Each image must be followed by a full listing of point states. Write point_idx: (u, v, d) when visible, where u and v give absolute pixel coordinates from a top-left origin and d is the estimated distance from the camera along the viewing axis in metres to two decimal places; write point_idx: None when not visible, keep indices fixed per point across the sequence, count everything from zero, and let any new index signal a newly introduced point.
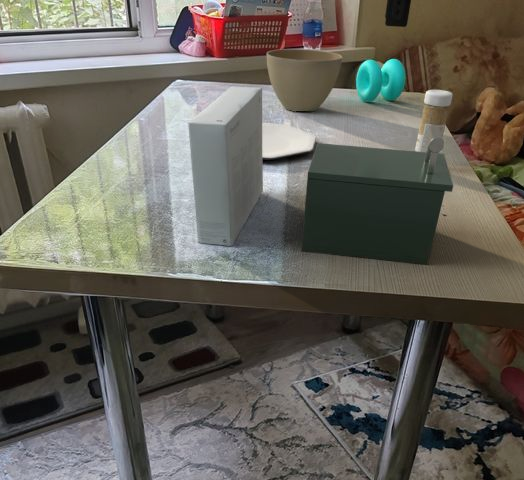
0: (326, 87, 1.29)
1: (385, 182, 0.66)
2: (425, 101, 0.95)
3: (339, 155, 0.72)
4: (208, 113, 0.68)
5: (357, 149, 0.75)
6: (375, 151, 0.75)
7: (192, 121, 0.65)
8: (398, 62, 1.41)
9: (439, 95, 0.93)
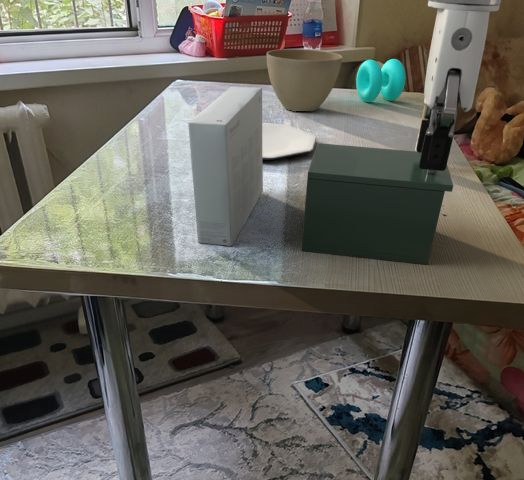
0: (326, 87, 1.29)
1: (385, 182, 0.66)
2: (425, 101, 0.95)
3: (339, 155, 0.72)
4: (208, 113, 0.68)
5: (357, 149, 0.75)
6: (375, 151, 0.75)
7: (192, 121, 0.65)
8: (398, 62, 1.41)
9: None
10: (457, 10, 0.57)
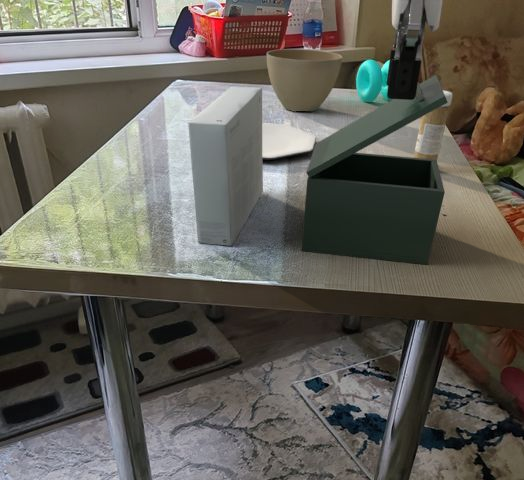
0: (326, 87, 1.29)
1: (379, 136, 0.63)
2: None
3: (335, 141, 0.71)
4: (208, 113, 0.68)
5: (351, 125, 0.73)
6: (368, 116, 0.72)
7: (192, 121, 0.65)
8: None
9: None
10: None
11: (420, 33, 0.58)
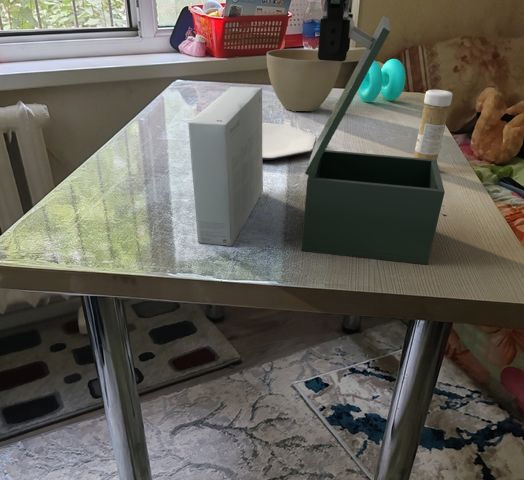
0: (326, 87, 1.29)
1: (347, 101, 0.61)
2: (425, 101, 0.95)
3: (323, 131, 0.71)
4: (208, 113, 0.68)
5: (334, 109, 0.72)
6: (343, 91, 0.71)
7: (192, 121, 0.65)
8: (398, 62, 1.41)
9: (439, 95, 0.93)
10: None
11: None
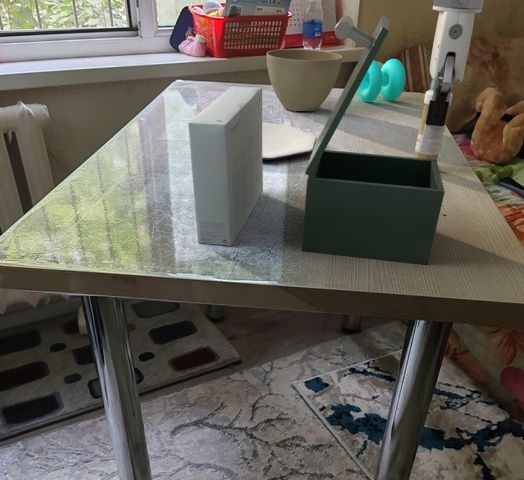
0: (326, 87, 1.29)
1: (347, 101, 0.61)
2: (425, 101, 0.95)
3: (323, 131, 0.71)
4: (208, 113, 0.68)
5: (333, 109, 0.72)
6: (343, 91, 0.71)
7: (192, 121, 0.65)
8: (398, 62, 1.41)
9: None
10: (452, 12, 0.84)
11: (449, 84, 0.90)
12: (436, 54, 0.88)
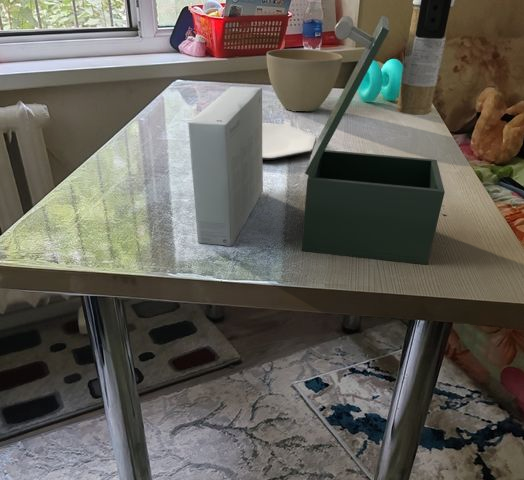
0: (326, 87, 1.29)
1: (347, 101, 0.61)
2: (414, 1, 0.62)
3: (323, 131, 0.71)
4: (208, 113, 0.68)
5: (333, 109, 0.72)
6: (343, 91, 0.71)
7: (192, 121, 0.65)
8: (398, 62, 1.41)
9: None
10: None
11: None
12: None
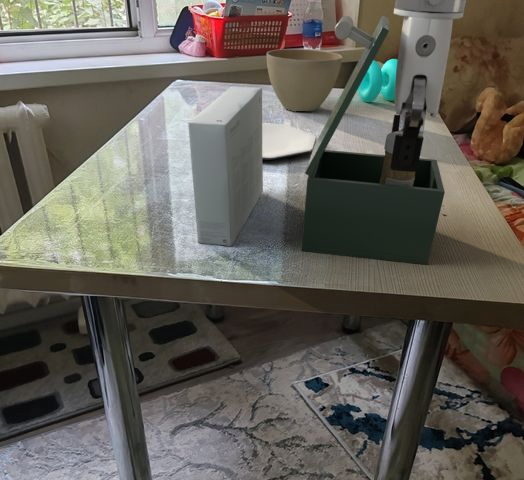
0: (326, 87, 1.29)
1: (347, 101, 0.61)
2: (386, 148, 0.69)
3: (323, 131, 0.71)
4: (208, 113, 0.68)
5: (333, 109, 0.72)
6: (343, 91, 0.71)
7: (192, 121, 0.65)
8: None
9: None
10: (420, 18, 0.58)
11: (422, 114, 0.62)
12: (399, 78, 0.61)
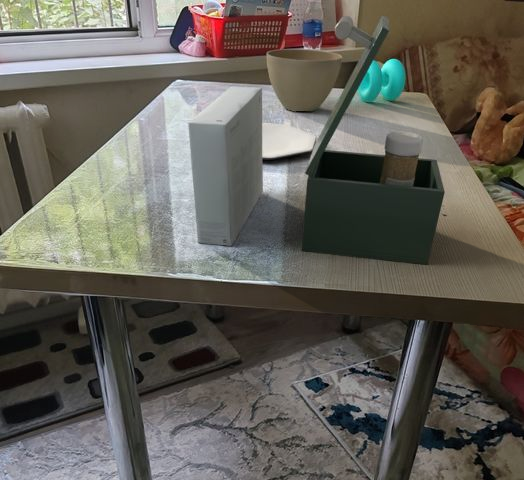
0: (326, 87, 1.29)
1: (347, 101, 0.61)
2: (386, 148, 0.69)
3: (323, 131, 0.71)
4: (208, 113, 0.68)
5: (333, 109, 0.72)
6: (343, 91, 0.71)
7: (192, 121, 0.65)
8: (398, 62, 1.41)
9: (404, 141, 0.67)
10: None
11: None
12: None
